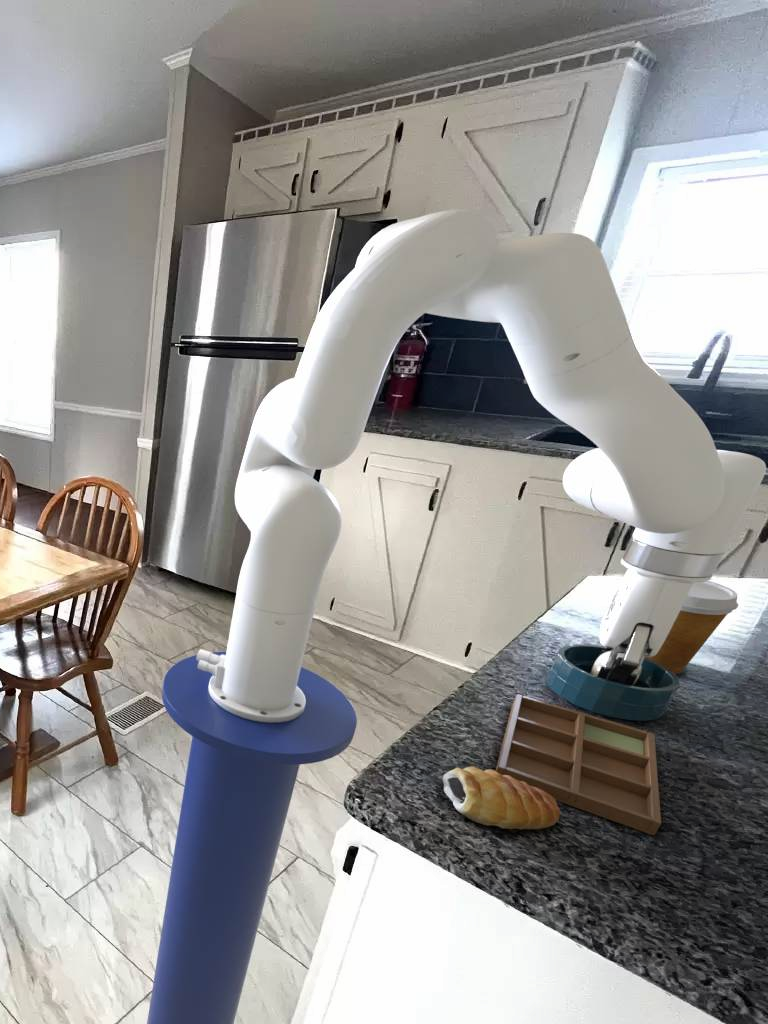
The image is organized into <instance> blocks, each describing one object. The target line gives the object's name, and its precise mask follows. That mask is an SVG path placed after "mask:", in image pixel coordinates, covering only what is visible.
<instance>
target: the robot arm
mask: <svg viewBox="0 0 768 1024" xmlns="http://www.w3.org/2000/svg"><path fill="white" fill-rule="evenodd" d="M424 314H429V315H432V316H433V315H434V316H439V317H446V318H451V319H460V320H466V321H472V322H473V321H475V322H483V323H498V324H501V326H502V328H503V330H504V332H505V335H506V337H507V339H508V342H509V343H510V345H511V348H512V350H513V353H514V354H515V357H516V359H517V361H518V363H519V366H520V369H521V370H522V373H523V376H524V378H525V381H526V383H527V385H528V387H529V390H530V392H531V395H532V396H533V398H534V399H535V400H536V401H537V402H538V403H539V404H540V405H541V406H542V407H543V408H544V409H546V411H548V412H549V413H550V414H551V415H553V416H554V417H555V418H556V419H559V421H561V422H563V423H565V424H567V425H568V426H570V427H571V428H573V429H574V430H576V431H578V432H579V433H580V434H582V435H583V436H585V437H586V438H587V439H589V440H590V441H591V442H592V443H593V444H594V445H596V448H593V449H590V450H587V451H586V452H584V453H581V454H580V455H579V456H577V457H576V458H575V459H573V460H572V461H571V462H570V463H569V464H568V466H567V467H566V468H565V470H564V472H563V475H562V487H563V490H564V492H565V493H566V495H567V496H568V497H569V498H570V499H572V500H573V501H574V502H575V503H576V504H578V505H580V506H582V507H585V508H586V509H589V510H592V511H594V512H596V513H598V514H601V515H603V516H606V517H609V518H612V519H615V520H617V521H619V522H622V523H624V524H626V525H629V526H631V527H634V528H635V529H634V531H633V533H632V535H631V538H630V540H629V542H628V544H627V545H626V548H625V551H624V553H623V556H622V558H621V560H620V564H621V565H622V566H624V568H626V569H627V570H626V572H625V574H624V575H623V577H622V579H621V580H620V583H619V584H618V586H617V589H616V591H615V593H614V595H613V597H612V599H611V601H610V603H609V605H608V607H607V608H606V611H605V612H604V614H603V616H602V619H601V621H600V624H599V625H600V627H599V643H600V646H603V647H605V650H602V652H601V654H603V653H605V652H608V651H606V650H609V651H611V654H610V656H609V658H608V661H607V663H606V665H605V667H603V666H602V667H601V669H600V671H599V673H598V675H597V677H600V678H603V679H605V680H609V681H613V682H616V683H620V684H624V685H630V686H633V684H634V682H635V680H636V678H637V673H638V671H639V668H640V666H641V664H642V662H643V659H644V657H645V655H646V657H653V656H655V655H656V654H657V653H658V651H659V650H660V648H661V646H662V645H663V643H664V641H665V639H666V637H667V635H668V634H669V632H670V630H671V628H672V626H673V624H674V622H675V620H676V618H677V616H678V614H679V612H680V610H681V608H682V606H683V604H684V602H685V600H686V597H687V595H688V593H689V591H690V589H691V587H692V585H693V583H694V582H705V581H710V580H711V579H712V577H713V575H714V574H715V572H716V569H717V568H718V566H719V564H720V562H721V560H722V558H723V556H724V554H725V552H726V550H727V548H728V547H729V545H730V543H731V541H732V539H733V538H734V535H735V533H736V531H737V529H738V528H739V526H740V523H741V522H742V519H743V518H744V516H745V514H746V512H747V510H748V509H749V506H750V505H751V503H752V501H753V499H754V496H755V495H756V493H757V492H758V489H759V487H760V485H761V484H762V481H763V480H764V477H765V475H766V472H767V465H766V463H765V461H764V460H762V459H761V458H760V457H758V456H756V455H752V454H750V453H749V454H748V453H744V452H739V451H731V450H725V449H717V447H716V445H715V442H714V439H713V437H712V435H711V433H710V430H709V429H708V427H707V426H706V424H705V422H704V421H703V419H702V418H701V417H700V416H699V414H698V413H697V412H696V411H695V410H694V409H693V408H692V406H691V405H690V404H689V403H688V402H687V401H686V400H685V399H684V398H683V397H682V396H681V395H680V394H679V393H678V392H677V391H676V390H675V389H674V388H673V387H672V386H671V384H669V382H668V381H667V380H666V379H665V378H664V377H663V376H662V375H661V374H660V373H658V371H656V369H654V368H653V367H652V366H651V365H650V364H649V363H648V362H646V361H645V359H644V358H643V356H642V355H641V352H640V350H639V348H638V345H637V343H636V340H635V338H634V335H633V332H632V329H631V328H630V325H629V321H628V319H627V317H626V314H625V311H624V308H623V305H622V303H621V300H620V298H619V295H618V291H617V289H616V286H615V284H614V281H613V279H612V276H611V274H610V271H609V268H608V266H607V262H606V260H605V258H604V255H603V252H601V249H600V248H599V247H598V245H597V243H596V242H595V241H594V240H592V239H591V238H589V237H588V236H587V235H586V236H585V235H583V234H581V233H580V234H579V233H574V232H554V233H545V234H537V235H528V236H520V237H499V232H498V227H497V225H496V223H495V222H494V220H493V219H492V218H491V217H490V216H489V215H487V214H485V213H484V212H481V211H479V210H474V209H471V208H470V209H469V208H453V209H447V210H442V211H436V212H433V213H428V214H424V215H422V216H418V217H413V218H409V219H405V220H402V221H401V220H400V221H398V222H395V223H392V224H390V225H387V226H386V227H384V228H382V229H380V231H378V232H376V234H374V235H373V236H372V237H371V238H370V239H369V240H368V241H367V242H366V243H365V244H364V246H363V248H361V251H360V253H359V254H358V256H357V259H356V263H355V266H354V268H353V269H352V270H351V271H350V272H349V273H348V274H347V275H346V276H345V277H344V279H342V281H341V282H339V284H338V285H337V286H336V287H335V289H334V290H333V291H332V292H331V294H330V295H329V296H328V298H327V299H326V301H325V302H324V304H323V305H322V307H321V309H320V310H319V313H318V314H317V316H316V318H315V321H314V322H313V325H312V327H311V330H310V333H309V335H308V339H307V341H306V344H305V347H304V350H303V353H302V355H301V358H300V361H299V364H298V367H297V370H296V372H295V375H294V377H291V378H289V379H286V380H283V381H282V382H280V383H279V384H277V385H276V386H274V388H272V389H271V390H270V391H269V392H268V393H267V394H266V396H265V397H264V398H263V400H262V402H261V403H260V405H259V406H258V409H257V410H256V413H255V414H254V415H255V416H254V419H253V421H252V424H251V428H250V432H249V434H248V439H247V442H246V446H245V450H244V454H243V457H242V461H241V464H240V468H239V471H238V475H237V479H236V484H235V488H234V489H235V490H234V505H235V510H236V512H237V514H238V515H239V517H240V519H241V520H242V521H243V523H244V524H245V526H247V528H248V530H249V531H250V541H249V545H248V547H247V551H246V554H245V555H244V558H243V562H242V564H241V568H240V571H239V576H238V580H237V587H236V592H235V594H236V595H235V600H234V605H233V612H232V617H231V622H230V628H229V634H228V640H227V645H226V650H225V652H226V655H223V654H222V655H220V656H219V655H216V654H213V653H211V652H212V651H208V650H205V649H203V648H200V649H199V650H198V651H197V654H196V655H197V657H196V660H197V661H199V663H198V666H197V668H198V669H200V670H203V671H207V672H210V673H212V675H213V676H212V677H211V679H210V681H209V686H208V689H209V694H210V696H211V697H212V699H213V700H214V701H215V702H216V703H217V704H218V705H219V706H220V707H222V708H223V709H225V710H226V711H228V712H230V713H232V714H234V715H237V716H239V717H242V718H245V719H249V720H253V721H258V722H267V723H279V722H286V721H290V720H292V719H295V718H297V717H298V716H300V715H301V714H302V713H303V711H304V708H305V703H306V699H305V695H304V694H303V692H302V691H301V690H300V689H299V688H298V687H297V682H298V678H299V674H300V670H301V667H302V665H303V661H304V657H305V653H306V649H307V644H308V640H309V635H310V631H311V628H312V627H311V626H312V623H313V619H314V614H315V610H316V604H317V601H318V598H319V597H318V596H319V593H320V588H321V586H322V585H321V584H322V581H323V577H324V575H325V571H326V568H327V566H328V564H329V560H330V559H331V557H332V554H333V552H334V550H335V548H336V545H337V544H338V540H339V538H340V535H341V530H342V512H341V509H340V506H339V504H338V501H337V500H336V498H335V497H334V495H333V494H332V492H331V491H329V490H328V489H327V487H326V486H324V485H322V484H321V483H320V482H319V481H317V480H316V479H315V478H314V476H315V473H316V470H327V469H331V468H334V467H337V466H339V465H341V464H342V463H344V462H346V460H348V459H349V458H350V457H351V455H353V453H354V452H355V451H356V449H357V448H358V446H359V444H360V442H361V440H362V436H363V435H364V432H365V429H366V425H367V422H368V419H369V417H370V414H371V411H372V408H373V405H374V402H375V400H376V396H377V394H378V391H379V388H380V385H381V383H382V379H383V377H384V374H385V371H386V369H387V366H388V365H389V362H390V360H391V357H392V355H393V353H394V351H395V348H396V346H397V345H398V343H399V342H400V340H401V338H402V337H403V335H404V334H405V333H406V332H407V331H408V329H409V328H410V327H411V326H412V325H413V324H414V323H415V322H416V321H417V320H418V319H419V318H420V317H422V316H423V315H424ZM618 653H622V654H624V656H623V657H618V658H617V655H618ZM601 654H600V655H601ZM616 658H617V659H616Z"/></svg>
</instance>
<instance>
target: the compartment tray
mask: <svg viewBox="0 0 768 1024" xmlns="http://www.w3.org/2000/svg"><path fill="white" fill-rule="evenodd" d="M657 762H658V761H657V750H656V735H655V733H653V732H652V731H651V732H650V731H647V730H645V729H644V730H643V729H640V728H637V727H633V726H631V725H626V724H623V723H619V722H616V721H612V720H608V719H606V718H602V717H598V716H595V715H593V714H592V715H591V714H589V713H584V712H581V711H578V710H574V709H571V708H567V707H564V706H560V705H556V704H555V703H554V704H553V703H550V702H546V701H543V700H539V699H536V698H532V697H529V696H526V695H522V694H519V693H516V694H515V697H514V700H513V702H512V705H511V709H510V713H509V715H508V719H507V724H506V727H505V731H504V736H503V740H502V744H501V747H500V751H499V756H498V759H497V764H496V767H495V771H496V772H498V773H499V774H501V775H509V776H511V777H512V778H514V779H516V780H518V781H523V782H526V783H527V784H528V785H529V786H533V787H536V788H539V789H541V790H543V791H544V792H546V793H547V794H549V795H550V796H552V797H553V798H555V800H556V802H559V803H562V804H565V805H567V806H571V807H573V808H576V809H579V810H581V811H585V812H586V813H590V814H593V815H596V816H598V817H600V818H604V819H606V820H610V821H612V822H615V823H617V824H620V825H623V826H626V827H628V828H631V829H634V830H637V831H640V832H643V833H645V834H648V835H650V836H655V835H656V834H657V832H658V830H659V829H660V827H661V826H662V815H661V803H660V790H659V789H660V788H659V777H658V776H659V775H658V763H657Z"/></svg>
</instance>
